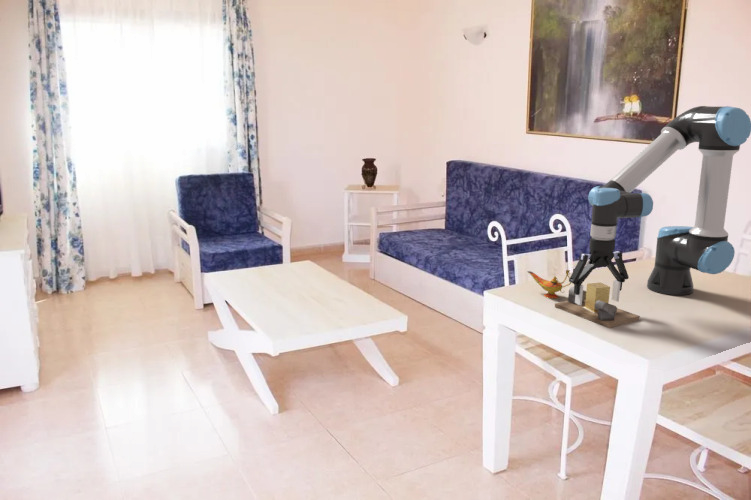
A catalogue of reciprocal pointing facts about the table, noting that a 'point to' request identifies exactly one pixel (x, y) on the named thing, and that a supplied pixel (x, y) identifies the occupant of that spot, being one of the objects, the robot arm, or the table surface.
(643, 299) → the table surface
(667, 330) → the table surface
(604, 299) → the block
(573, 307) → the shaft bench
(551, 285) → the magic lamp
